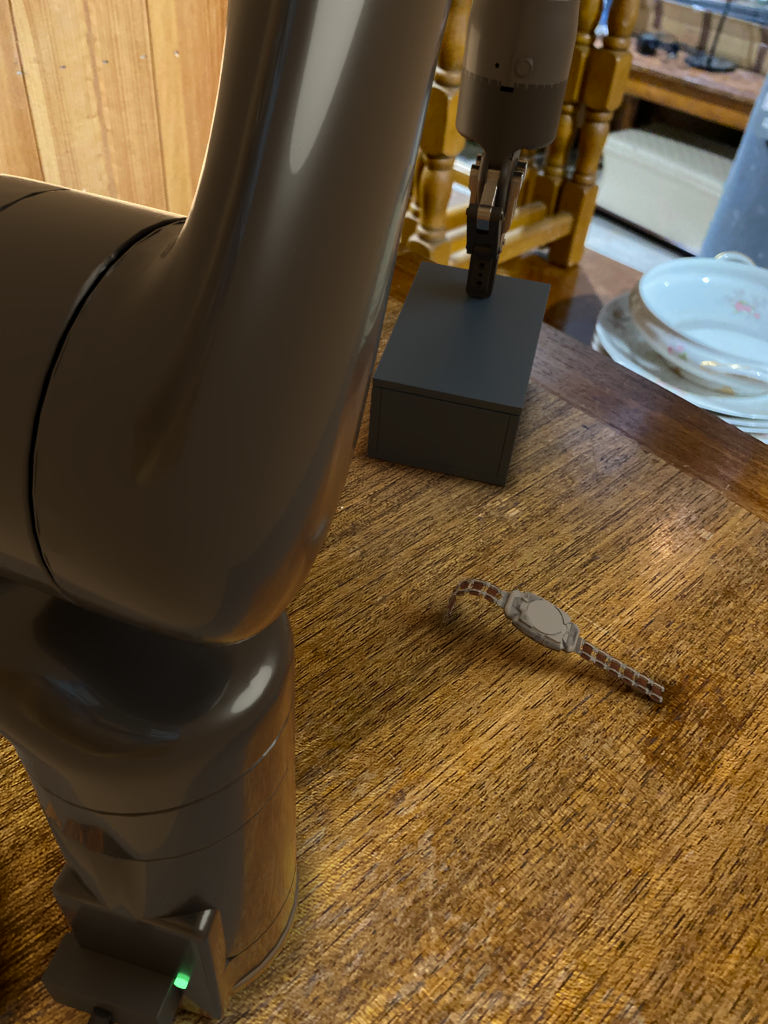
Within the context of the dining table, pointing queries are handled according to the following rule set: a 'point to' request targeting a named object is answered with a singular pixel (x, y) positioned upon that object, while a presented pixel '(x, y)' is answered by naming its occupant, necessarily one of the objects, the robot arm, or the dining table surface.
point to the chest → (441, 435)
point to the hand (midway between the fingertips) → (479, 293)
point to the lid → (465, 340)
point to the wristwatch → (552, 630)
